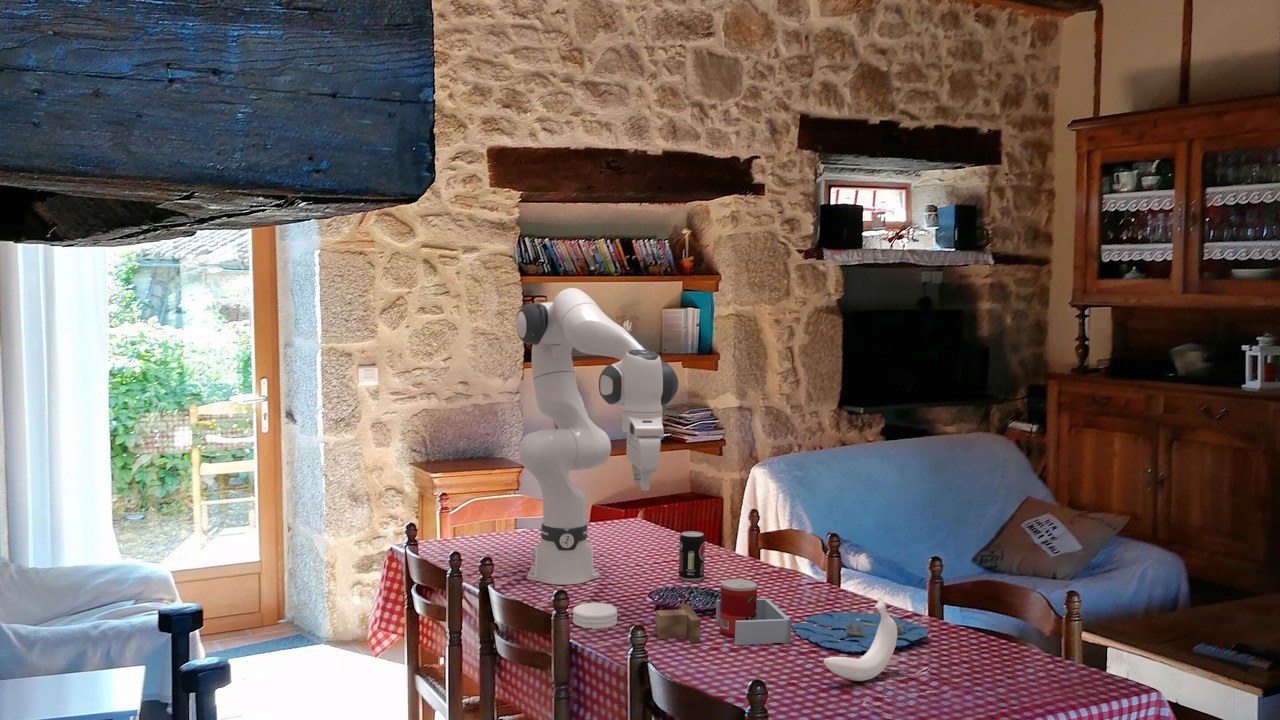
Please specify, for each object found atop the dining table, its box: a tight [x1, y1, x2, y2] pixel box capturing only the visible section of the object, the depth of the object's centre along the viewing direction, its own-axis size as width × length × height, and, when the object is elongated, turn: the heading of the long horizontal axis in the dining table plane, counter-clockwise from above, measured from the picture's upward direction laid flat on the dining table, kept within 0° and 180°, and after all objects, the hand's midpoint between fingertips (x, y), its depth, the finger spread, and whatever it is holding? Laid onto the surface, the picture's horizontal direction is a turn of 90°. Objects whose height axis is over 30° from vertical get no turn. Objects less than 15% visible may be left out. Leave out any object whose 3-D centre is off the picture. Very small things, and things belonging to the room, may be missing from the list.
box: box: [715, 598, 792, 646], centre depth 236 cm, size 17×12×5 cm
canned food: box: [719, 578, 758, 639], centre depth 235 cm, size 8×8×11 cm
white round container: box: [572, 602, 618, 630], centre depth 240 cm, size 10×10×4 cm
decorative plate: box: [791, 611, 929, 654], centre depth 236 cm, size 30×30×5 cm
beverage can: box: [678, 530, 706, 583], centre depth 280 cm, size 7×7×12 cm
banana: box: [823, 596, 898, 682], centre depth 207 cm, size 5×19×15 cm, turn 132°
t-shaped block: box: [655, 603, 702, 644], centre depth 233 cm, size 8×12×5 cm, turn 10°
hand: (641, 486), depth 238 cm, fingers open, 8 cm apart
